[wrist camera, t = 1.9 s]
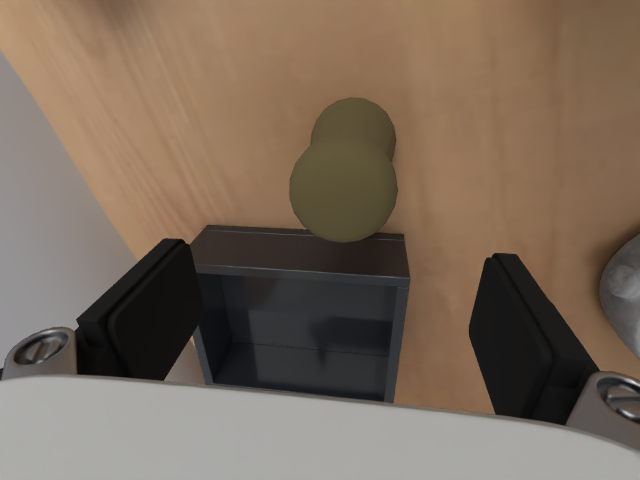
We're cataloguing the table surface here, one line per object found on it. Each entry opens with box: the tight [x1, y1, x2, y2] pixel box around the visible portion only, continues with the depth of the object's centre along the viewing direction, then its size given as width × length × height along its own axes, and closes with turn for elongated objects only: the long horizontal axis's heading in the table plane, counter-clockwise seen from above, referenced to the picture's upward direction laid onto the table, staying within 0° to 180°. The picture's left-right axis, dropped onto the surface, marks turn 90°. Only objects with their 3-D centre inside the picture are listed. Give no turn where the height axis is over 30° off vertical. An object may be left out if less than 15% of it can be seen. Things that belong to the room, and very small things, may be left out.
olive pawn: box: [290, 98, 398, 243], centre depth 20 cm, size 6×6×11 cm
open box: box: [189, 225, 410, 403], centre depth 30 cm, size 14×17×6 cm
